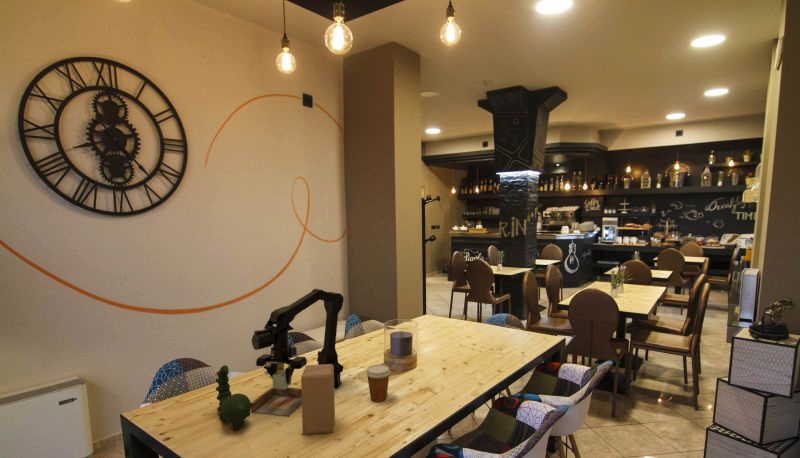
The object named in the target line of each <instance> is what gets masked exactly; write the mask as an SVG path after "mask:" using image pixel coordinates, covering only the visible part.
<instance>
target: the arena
mask: <svg viewBox="0 0 800 458" xmlns="http://www.w3.org/2000/svg"><path fill="white" fill-rule="evenodd" d="M300 406H302V392H301V387H300V388H299V387H290V386H288V387H287V388H286V389H275V388H273V386H271V387H270V388H268V389H267V390H266V391H265V392H263V393H262V394H261V395H259V396H258V397H257V398H255V399H254V400H253V401H252V402H251V411H250V414H251V413H254V414H259V415H260V414H262V415H270V416H271V415H272V416H279V417H280V416H281V417H290V416H291V415H292V414H293V413H294V412H295V411H296V410H297V409H298V408H299V407H300Z"/></svg>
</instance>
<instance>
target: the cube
mask: <svg viewBox="0 0 800 458" xmlns="http://www.w3.org/2000/svg"><path fill="white" fill-rule="evenodd" d="M272 376H273V379H272V387H273V388H275V389H286V388H287V387H290V386H291V385H292V379H291V380H290V383H289V384H287V381H286V372H285V369H284V371H283V370H279V371H278V372H276V373H275V374H274V375H272Z"/></svg>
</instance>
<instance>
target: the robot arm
mask: <svg viewBox="0 0 800 458" xmlns="http://www.w3.org/2000/svg"><path fill="white" fill-rule="evenodd" d="M344 298H345V297H344V296H343V295H342V294H341V293H338V292H334V291H325V290H323V289H319V288H313V289H312V290H311V291H310V292H309V293H307V294H305V295H304V296H301V297H300V298H299V299H297V300H296V301H294V302H292V303H291V304H289V305H286V306H282V307H279V308H277V309H274V310H273V311H271V313H270V315H269V319H268V320H267V322H266V323H265V326H264V327H263V328H264V329H258V330H254V331H253V332H254V333H253V335H252V337H251V345H252V349H254V350H255V351H258V350H262V349H267V348H269V347H270V352H271V351H273V355H270V353H269V354H268V353H267V354H266V353H263V354H262V355H261V356H259V357H257V359H256V360H255V365H256V367H263V369H265V371H268V373H269V374H270V378H271V379H272V380H273V376H272V375H274V374H275V373H276V372H277V365H278V364H284V365H287V367H285V368H284V370H285V372H286V381H287V384H289V383H290V380H291V381H292V377H293V374H294V371H295V370H301V369H302V368H304V367H306V366H307V365H308V361H307V359H308V358H306V356H297V351H298V350H297V347H293V346H292V344H291V343H290V342H289V341H290V340H289V331H293V330H294V327H293V326H291V325H290V323H292V322H293V321H294V320H295V318H296V316H297V315H299V314H300V313H301V312H303V311H304V310H306V309H308V308H309V307H310V306H312V305H314V304H315V303H317V302H318V301H323V308H324V310H325V312H326V317H325V326H324V328H325V329H324V340H323V345H322V346H323V347H322V348H321V350H319V351H317V359H316V361H317V365H323V364H332V365H333V366H334V390H336V389H339V387H340V386H341V385H342V384H343V381H341V379H342V378H341V374H342V373H343V371H344V366H343V365H342V364H340V362H339V354H338V351H337V348H336V341H337V331H338V320H339V314H340V312H341V310H342V309H343V304H344V302H345V301H344ZM271 347H272V348H271ZM273 357H274V358H273ZM292 357H294V358H292Z"/></svg>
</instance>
